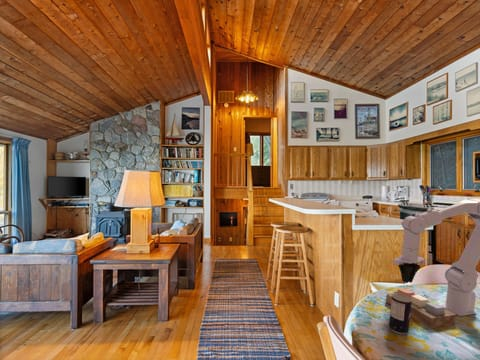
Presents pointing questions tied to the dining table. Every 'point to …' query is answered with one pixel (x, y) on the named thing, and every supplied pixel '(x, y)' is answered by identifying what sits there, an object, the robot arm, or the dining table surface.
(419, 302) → the ivory key
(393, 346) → the dining table surface
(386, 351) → the dining table surface
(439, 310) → the grey block
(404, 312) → the beverage can
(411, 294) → the red key
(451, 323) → the brown slotted tray
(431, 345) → the dining table surface
